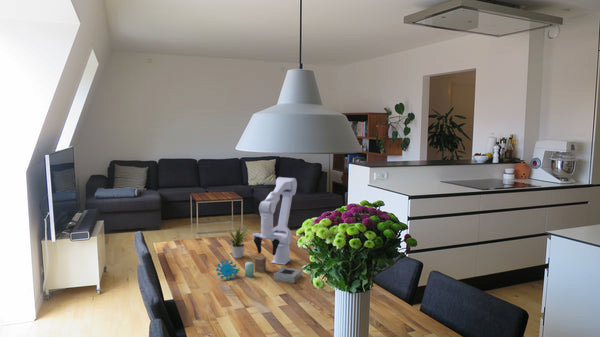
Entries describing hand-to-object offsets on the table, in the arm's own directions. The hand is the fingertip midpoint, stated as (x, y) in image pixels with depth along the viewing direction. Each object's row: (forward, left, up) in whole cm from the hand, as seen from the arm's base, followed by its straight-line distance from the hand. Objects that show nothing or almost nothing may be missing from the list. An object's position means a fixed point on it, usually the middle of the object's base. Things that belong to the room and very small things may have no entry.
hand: (266, 253), depth 210 cm
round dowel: (+7, -6, -9) cm, 13 cm away
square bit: (-1, -4, -9) cm, 10 cm away
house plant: (-16, -23, -10) cm, 29 cm away
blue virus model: (+13, -14, -10) cm, 21 cm away
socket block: (+3, +12, -9) cm, 16 cm away
